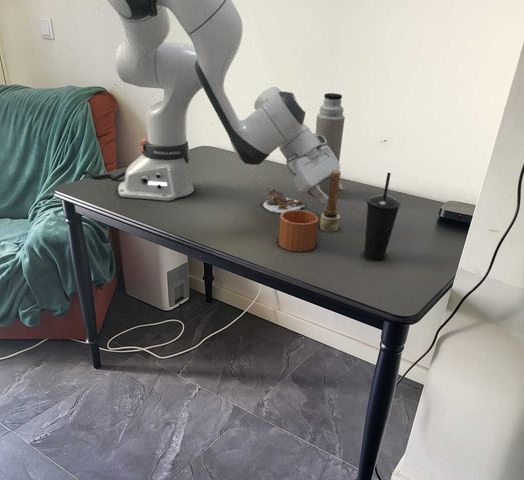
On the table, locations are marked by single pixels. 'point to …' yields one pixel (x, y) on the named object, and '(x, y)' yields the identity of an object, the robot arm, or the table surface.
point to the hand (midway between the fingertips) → (333, 196)
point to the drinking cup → (380, 223)
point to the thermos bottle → (331, 128)
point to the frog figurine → (281, 203)
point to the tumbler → (298, 230)
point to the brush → (331, 205)
